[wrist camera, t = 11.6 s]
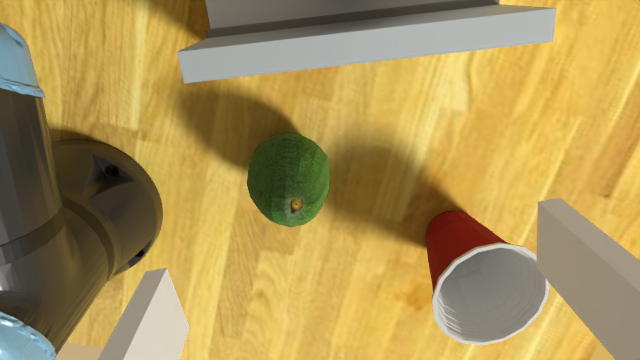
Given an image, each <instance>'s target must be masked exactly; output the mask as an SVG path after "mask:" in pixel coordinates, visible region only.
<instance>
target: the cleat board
mask: <svg viewBox="0 0 640 360" xmlns="http://www.w3.org/2000/svg"><path fill="white" fill-rule="evenodd" d="M205 2H206V7H207V12H208V18H209V23H210V28H211V29H208V30H206V35H207V38H206V39H204V40H202V41H200V42H198V43H196V44H193V45H191V46H189V47H187V48H185V49H182V50H180V51H178V52H177V54H178V58H179V63H180V67H181V71H182V76H183V80H184V83H192V82H201V81H209V80H218V79H227V78H236V77H245V76H253V75H262V74H271V73H280V72H289V71H297V70H306V69H315V68H324V67H333V66H341V65H350V64H359V63H368V62H377V61H385V60H394V59H403V58H412V57H421V56H429V55H438V54H447V53H456V52H465V51H473V50H482V49H491V48H500V47H509V46H517V45H526V44H535V43H544V42H553V37H554V27H555V17H556V8H545V7H530V6H516V5H501V4H499V0H205Z"/></svg>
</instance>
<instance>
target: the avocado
mask: <svg viewBox="0 0 640 360" xmlns="http://www.w3.org/2000/svg"><path fill="white" fill-rule="evenodd" d="M329 182H330V167H329V162H328V156H327V155H326V154H325V153H324V152H323V151H322V149H321V148H320V147H319V146H318V145H317V144H316V143H315V142H314V141H312V140H310V139H308V138H306V137H304V136H302V135H300V134H293V133H282V134H278V135H274V136H272V137H270V138H269V139H267V140H266V141H264V142H263V143H261V144H260V145H259V146H258V147H257V148H256V150H255V152H254V154H253V156H252V158H251V160H250V163H249V170H248V179H247V186H248V190H249V194H250V197H251V199H252V200H253V202H254V203H255V205H256V206H257V207H258V209H259V210H260V211H261V213H262V214H264V215H265V216H266V217H267V218H268V219H269V220H270V221H272V222H275V223H277V224H280V225H284V226H288V227H295V226H299V225H304V224H306V223H307V222H309V221H311V220H312V219H313V218H314V217H315V216H316V215H317V213H318V212H319V210H320V209H321V207H322V205H323V203H324V201H325V198H326V196H327V194H328V192H329Z"/></svg>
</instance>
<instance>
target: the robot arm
mask: <svg viewBox="0 0 640 360" xmlns="http://www.w3.org/2000/svg"><path fill="white" fill-rule="evenodd" d="M43 97H45V95H44V92H43V90H42V89H41V88H40V87H39V85H38V81H37V77H36V73H35V70H34V66H33V62H32V58H31V54H30V51H29V47H28V45H27V43H26V41H25V40H24V38H23V37H22V36H21V35H20V34H19V33H18V32H17V31H16V30H14V29H13V28H11V27H9V26H8V25H6V24H3V23H1V22H0V360H55V359H56V355H57V354H58V352H59V351H60V349H61V348H62V346H63V345H64V343H65V342H66V340H67V339H68V338H69V336H70V335H71V333H72V332H73V330H74V329H75V327H76V326H77V324H78V323H79V322H80V320H81V319H82V317H83V316H84V314H85V313H86V311H87V310H88V309H89V307H90V306H91V304H92V303H93V301H94V300H95V298H96V297H97V295H98V294H99V293H100V291H101V290H102V288H103V287H104V285H105V284H106V282H108V281H109V280H111V279H113V278H114V277H116V276H118V275H119V274H121V273H123V272H124V271H126V270H128V269H129V268H131V267H132V266H134V265H135V264H137V263H138V262H139V261H140V260H141V259H142V258H143V257H144V256H145V255H146V254H147V253H148V251H149V250H150V248H151V247H152V245H153V243H154V242H155V240H156V239H157V237H158V235H159V232H160V229H161V226H162V220H163V209H162V203H161V199H160V196H159V193H158V190H157V188H156V186H155V184H154V183H153V181H152V179H151V178H150V177H149V175H148V174H147V173H146V171H145V170H144V169H143V168H142V167H141V166H140V165H139V164H138V163H137V162H135V161H134V160H133V159H132V158H130V157H129V156H127V155H126V154H124V153H123V152H121V151H119V150H117V149H115V148H113V147H111V146H108V145H105V144H102V143H99V142H95V141H89V140H65V141H60V142H56V143H53V144H51V139H50V134H49V129H48V124H47V119H46V114H45V109H44V104H43V99H42V98H43ZM537 269H538V270H539V271H540V272H541V274H542V275H543V276H544V277H545V278H546V279H547V281H548V282H549V283H550V284H551V285H552V286H553V287H554V289H555V290H556V291H557V292H558V293H559V294H560V296H561V297H562V298H563V299H564V300H565V301H566V303H567V304H568V305H569V306H570V307H571V308H572V310H573V311H574V312H575V313H576V314H577V315H578V317H579V318H580V319H581V320H582V321H583V322H584V324H585V325H586V326H587V327H588V328H589V329H590V330H591V332H592V333H593V334H594V335H595V336H596V337H597V339H598V340H599V341H600V342H601V343H602V344H603V346H604V347H605V348H606V349H607V350H608V351H609V353H610V354H611V355H612V356H613V357H614V358H615V360H640V260H638V259H637V258H636V257H634V256H633V255H632V254H631V253H629V252H628V251H627V250H626V249H624V248H623V247H622V246H621V245H619V244H618V243H617V242H615V241H614V240H613V239H612V238H610V237H609V236H608V235H607V234H605V233H604V232H603V231H602V230H600V229H599V228H598V227H596V226H595V225H594V224H593V223H591V222H590V221H589V220H588V219H586V218H585V217H584V216H583V215H581V214H580V213H579V212H577V211H576V210H575V209H574V208H572V207H571V206H570V205H569V204H567V203H566V202H565V201H564V200H562V199H561V198H557V199H551V200H546V201H540V202H538V226H537ZM189 329H190V327H189V325H188V322H187V320H186V317H185V314H184V312H183V309H182V306H181V304H180V301H179V299H178V296H177V293H176V291H175V288H174V285H173V283H172V280H171V278H170V275H169V272H168V270H167V268H164V269H158V270H152V271H147V272H145V274H144V276H143V278H142V279H141V281H140V283H139V285H138V287H137V289H136V290H135V292H134V294H133V296H132V298H131V300H130V301H129V303H128V305H127V307H126V309H125V311H124V312H123V314H122V316H121V318H120V320H119V322H118V324H117V325H116V327H115V329H114V331H113V333H112V335H111V336H110V338H109V340H108V342H107V344H106V346H105V347H104V349H103V351H102V353H101V355H100V357H99V358H98V360H180V357H181V353H182V350H183V347H184V344H185V341H186V338H187V335H188V332H189Z"/></svg>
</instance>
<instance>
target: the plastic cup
mask: <svg viewBox="0 0 640 360" xmlns="http://www.w3.org/2000/svg"><path fill="white" fill-rule="evenodd" d="M426 245H427V254H428V262H429V267H430V273H431V279H432V285H433V295H432V303H433V312H434V319H435V321H436V322H437V324H438V325H439V327H440V328H441V329H442V331H443V332H444V334H446V335H447V336H449V337H451V338H453V339H455V340H457V341H458V342H460V343H465V344H474V345H486V344H491V343H496V342H500V341H504V340H506V339H508V338H510V337H512V336H514V335H515V334H517V333H519V332H521V331H523V330H524V329H525V328H526V327H527V326H528V325H529V324H530V323H531V322H532V321H533V320H534V319H535V318H536V317H537V316H538V315H539V314H540V313H541V310H542V308H543V306H544V304H545V302H546V300H547V297H548V295H549V282H548V281H547V279H546V278H545V277H544V276H543V275H542V274H541V272H540V271H539V270H538V269H537V255H535V254H534V253H532V252H531V251H529V250H528V249H526V248H525V247H523V246H519V245H513V244H510V243H507V242H505V241H504V240H502V239H501V238H500V237H498V236H497V235H496V234H494V233H493V232H492V231H490V230H489V229H488V228H486V227H485V226H483V225H482V224H480V223H479V222H478V221H476V220H475V219H474V218H472V217H471V216H469V215H468V214H466V213H464V212H459V211H449V212H444V213H442V214H440V215H438V216H436V217H435V218H434V219H433V220H432V221H431V223H430V224H429V226H428V228H427V231H426Z"/></svg>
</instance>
